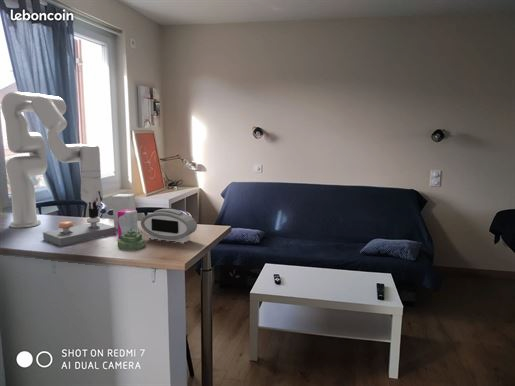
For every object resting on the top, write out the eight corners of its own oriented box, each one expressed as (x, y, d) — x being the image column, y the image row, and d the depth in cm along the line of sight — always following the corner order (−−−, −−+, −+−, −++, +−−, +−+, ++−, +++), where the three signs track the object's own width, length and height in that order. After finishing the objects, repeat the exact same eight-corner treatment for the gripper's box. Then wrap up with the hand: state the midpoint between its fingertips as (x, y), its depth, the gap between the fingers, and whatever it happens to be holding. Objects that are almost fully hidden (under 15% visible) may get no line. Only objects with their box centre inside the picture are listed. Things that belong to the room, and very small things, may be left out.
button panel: (43, 239, 167) (43, 232, 167) (98, 228, 186) (97, 222, 185) (60, 246, 159) (60, 238, 158) (115, 233, 177) (115, 227, 177)
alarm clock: (140, 238, 171) (139, 208, 169) (149, 235, 177) (149, 205, 175) (189, 245, 163) (189, 213, 161) (197, 241, 168) (197, 210, 166)
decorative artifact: (128, 241, 166) (112, 248, 157) (128, 224, 165) (111, 230, 156) (150, 244, 163) (134, 251, 154) (149, 227, 162) (133, 233, 153)
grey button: (84, 228, 176) (84, 218, 175) (96, 226, 180) (95, 216, 179) (91, 230, 173) (90, 219, 172) (102, 228, 177) (102, 217, 176)
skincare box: (137, 227, 189) (136, 194, 187) (130, 231, 183) (129, 196, 180) (120, 226, 191) (118, 193, 188) (112, 229, 184) (111, 195, 182)
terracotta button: (56, 234, 167) (56, 222, 166) (69, 231, 171) (68, 220, 170) (63, 236, 164) (62, 224, 163) (75, 233, 168) (75, 222, 167)
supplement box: (138, 236, 174) (137, 210, 172) (129, 240, 168) (128, 212, 166) (126, 235, 176) (125, 208, 174) (117, 238, 170) (116, 211, 168)
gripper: (73, 174, 175) (76, 216, 177) (92, 176, 165) (95, 221, 168) (90, 172, 180) (92, 213, 183) (109, 175, 171) (111, 218, 174)
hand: (93, 217), depth 176 cm, fingers closed
